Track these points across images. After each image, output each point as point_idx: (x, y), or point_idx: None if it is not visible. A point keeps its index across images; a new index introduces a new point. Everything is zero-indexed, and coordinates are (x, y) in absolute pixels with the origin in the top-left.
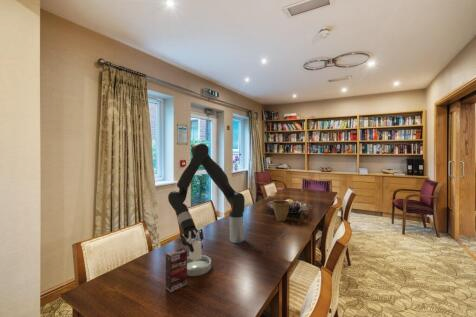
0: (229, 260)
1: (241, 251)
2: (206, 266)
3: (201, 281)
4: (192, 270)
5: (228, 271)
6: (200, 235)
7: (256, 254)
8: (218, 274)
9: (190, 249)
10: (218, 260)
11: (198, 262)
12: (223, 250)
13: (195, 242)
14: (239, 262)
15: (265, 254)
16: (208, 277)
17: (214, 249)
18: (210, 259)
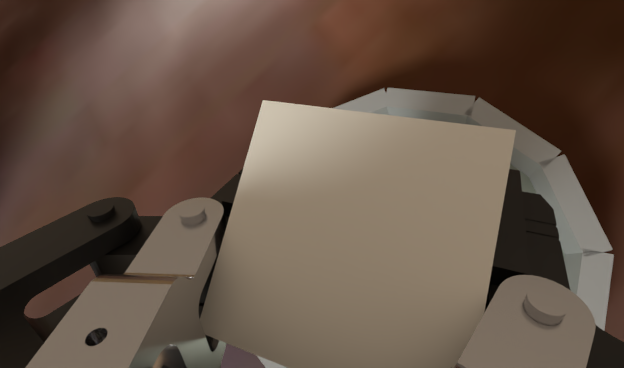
0: (163, 115)
1: (29, 143)
2: (393, 92)
3: (533, 39)
4: (549, 146)
5: (288, 10)
6: (23, 326)
7: (35, 43)
8: (362, 27)
9: (550, 225)
10: (200, 181)
11: None
12: None
13: (385, 187)
14: (157, 45)
15: (20, 8)
16: (446, 46)
17: None
18: None
